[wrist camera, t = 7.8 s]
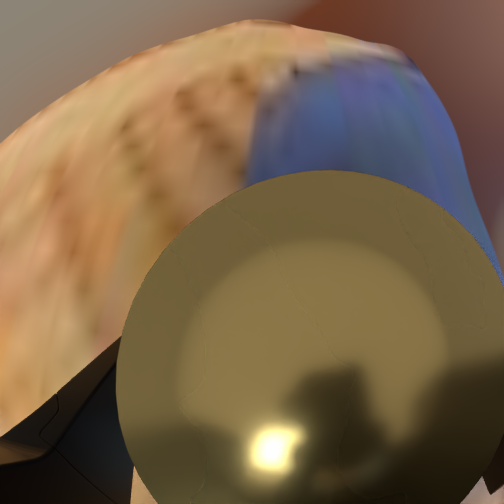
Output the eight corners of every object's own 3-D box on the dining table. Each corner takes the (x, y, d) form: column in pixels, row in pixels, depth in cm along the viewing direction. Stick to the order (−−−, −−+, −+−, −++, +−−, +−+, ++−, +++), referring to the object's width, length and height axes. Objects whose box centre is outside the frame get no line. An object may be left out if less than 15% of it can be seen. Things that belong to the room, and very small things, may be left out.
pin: (339, 379, 16) (549, 386, 3) (255, 433, 15) (278, 613, 2) (285, 300, 18) (379, 123, 4) (201, 351, 16) (50, 303, 3)
